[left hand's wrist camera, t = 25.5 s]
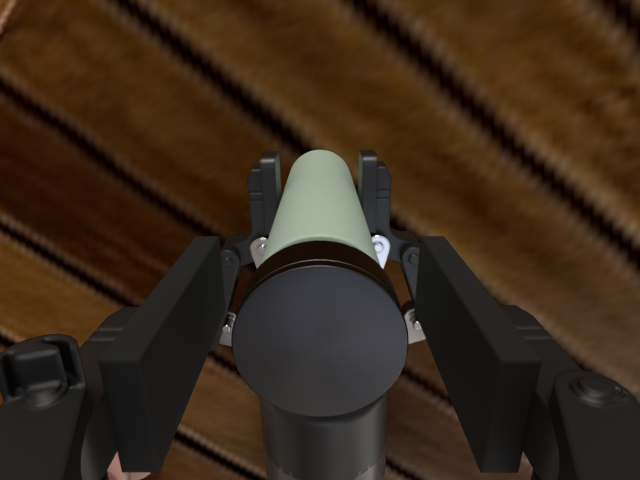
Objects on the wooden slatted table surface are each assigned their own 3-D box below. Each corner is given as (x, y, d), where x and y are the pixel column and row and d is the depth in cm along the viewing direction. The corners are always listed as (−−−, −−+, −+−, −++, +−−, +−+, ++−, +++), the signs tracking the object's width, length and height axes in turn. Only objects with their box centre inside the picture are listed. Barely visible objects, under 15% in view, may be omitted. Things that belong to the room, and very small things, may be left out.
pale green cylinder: (329, 221, 29) (342, 407, 12) (277, 190, 28) (218, 344, 12) (362, 171, 27) (425, 302, 11) (309, 137, 27) (293, 225, 10)
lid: (406, 362, 13) (418, 403, 11) (263, 386, 13) (255, 428, 11) (385, 225, 11) (396, 249, 10) (224, 255, 11) (209, 284, 10)
